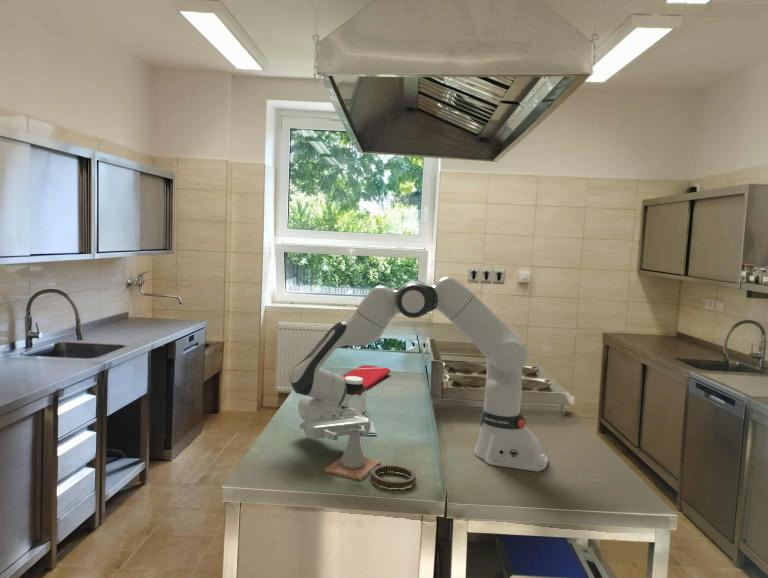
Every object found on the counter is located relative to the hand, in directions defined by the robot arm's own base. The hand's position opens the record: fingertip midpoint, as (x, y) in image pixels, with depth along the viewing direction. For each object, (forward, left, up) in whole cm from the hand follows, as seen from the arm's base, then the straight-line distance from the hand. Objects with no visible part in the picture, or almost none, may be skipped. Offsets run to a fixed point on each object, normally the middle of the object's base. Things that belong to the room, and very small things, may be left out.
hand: (349, 435), depth 176 cm
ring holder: (-15, +3, -8) cm, 18 cm away
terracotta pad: (-2, +1, -8) cm, 9 cm away
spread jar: (+21, -48, -9) cm, 53 cm away
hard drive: (+9, -30, -9) cm, 33 cm away
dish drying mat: (+37, -87, -9) cm, 95 cm away
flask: (-2, +1, -8) cm, 8 cm away
